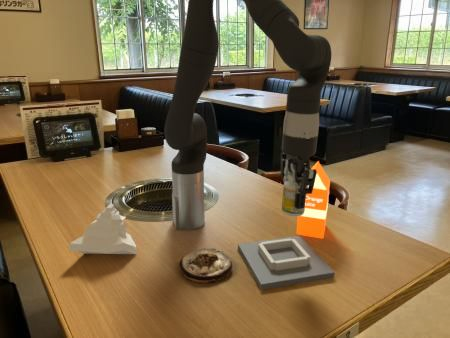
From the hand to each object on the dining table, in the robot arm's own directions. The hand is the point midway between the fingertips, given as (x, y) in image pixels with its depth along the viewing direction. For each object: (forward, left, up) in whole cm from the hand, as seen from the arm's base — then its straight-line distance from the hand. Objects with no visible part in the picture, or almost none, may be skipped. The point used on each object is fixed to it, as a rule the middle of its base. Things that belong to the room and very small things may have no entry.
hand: (293, 202), depth 86 cm
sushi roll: (-20, +3, -17) cm, 27 cm away
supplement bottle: (0, 0, -3) cm, 3 cm away
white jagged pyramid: (-43, +17, -17) cm, 50 cm away
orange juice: (+14, +15, -17) cm, 26 cm away
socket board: (-1, +1, -17) cm, 17 cm away
